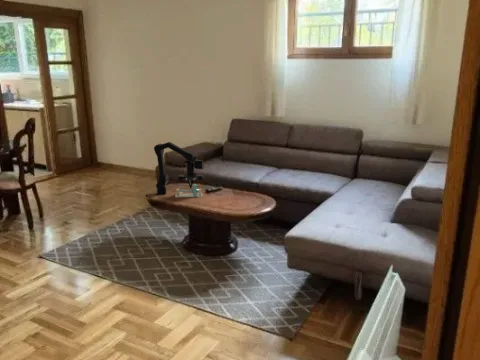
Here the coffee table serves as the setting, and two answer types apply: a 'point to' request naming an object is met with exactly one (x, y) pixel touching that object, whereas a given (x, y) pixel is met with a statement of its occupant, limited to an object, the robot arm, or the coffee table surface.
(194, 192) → the collar
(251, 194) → the coffee table surface
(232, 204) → the coffee table surface
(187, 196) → the pipe rig
